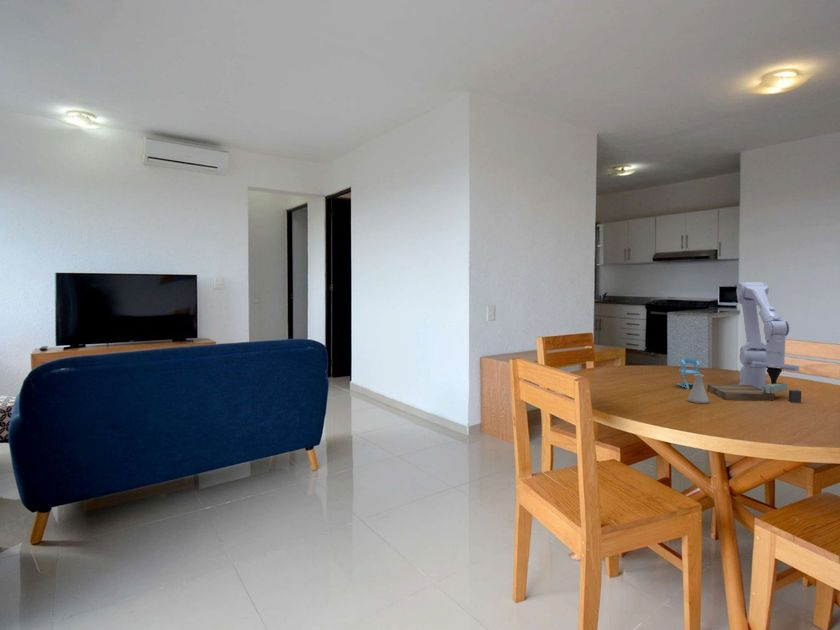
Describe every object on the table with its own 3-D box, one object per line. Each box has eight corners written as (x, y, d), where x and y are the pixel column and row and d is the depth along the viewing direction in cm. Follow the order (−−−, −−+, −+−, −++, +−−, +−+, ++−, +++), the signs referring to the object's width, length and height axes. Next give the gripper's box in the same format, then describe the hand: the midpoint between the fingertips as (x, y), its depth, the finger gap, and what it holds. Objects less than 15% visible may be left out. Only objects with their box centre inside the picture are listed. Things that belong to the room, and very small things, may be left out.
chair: (681, 389, 198) (681, 360, 197) (676, 385, 206) (677, 357, 205) (702, 390, 195) (703, 361, 194) (697, 385, 203) (697, 357, 202)
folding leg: (768, 393, 176) (768, 386, 176) (761, 392, 179) (761, 385, 179) (787, 390, 181) (787, 383, 180) (779, 389, 183) (780, 382, 183)
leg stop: (788, 401, 176) (788, 389, 176) (797, 401, 175) (797, 390, 175) (791, 402, 174) (792, 391, 174) (801, 402, 173) (801, 391, 173)
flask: (712, 404, 173) (713, 376, 173) (691, 403, 175) (691, 376, 174) (705, 399, 180) (705, 373, 180) (684, 398, 182) (684, 372, 181)
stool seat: (707, 390, 195) (707, 384, 195) (750, 391, 192) (750, 384, 192) (726, 399, 179) (726, 393, 179) (773, 400, 177) (773, 394, 176)
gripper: (749, 351, 185) (748, 386, 186) (796, 355, 174) (795, 392, 175) (754, 349, 189) (753, 383, 190) (801, 353, 179) (799, 389, 179)
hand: (773, 387), depth 183 cm, fingers closed, pressing on folding leg
